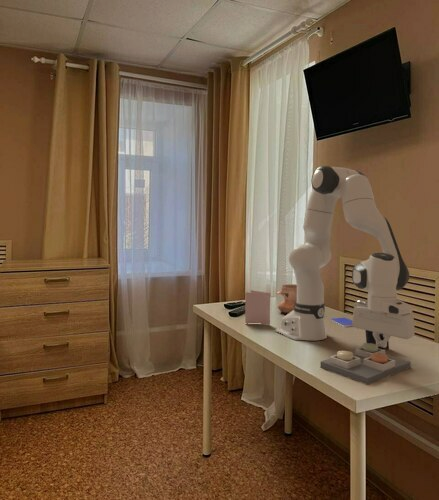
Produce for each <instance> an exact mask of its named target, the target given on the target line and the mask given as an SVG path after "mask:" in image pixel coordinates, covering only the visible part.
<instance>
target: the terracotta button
mask: <svg viewBox="0 0 439 500" xmlns="http://www.w3.org/2000/svg"><path fill="white" fill-rule="evenodd" d="M387 355H388V354H386V353H385V354H382V353H372V354H371V361H373V362H376V363H380V364H384V363H387V362H388V356H387Z"/></svg>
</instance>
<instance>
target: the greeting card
mask: <svg viewBox="0 0 439 500" xmlns="http://www.w3.org/2000/svg"><path fill="white" fill-rule="evenodd" d="M244 293H245V299H244V301H245V308H244V312H245V314H244V316H245V317H244V318H245V320H244V322H245V323H261V324H270V325H271V293H270V292H264V291H258V290H250V292H244ZM245 323H244V324H245Z"/></svg>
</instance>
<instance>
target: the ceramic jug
mask: <svg viewBox="0 0 439 500" xmlns="http://www.w3.org/2000/svg"><path fill="white" fill-rule="evenodd" d="M280 288H281V291H277V292H276V294H277V295H281V296H283V300H282V301H281V302H279V303H278V305H277V309H279V311H280V312H282V313H283V314H286V313H287V314H289V313H290V312H291V311H293V309H294V306H292V305H294V304H292V303H296V302H297V284H296V283H295V284H294V283H293V284H292V283H289V284H282V285H280ZM287 314H286V315H287Z"/></svg>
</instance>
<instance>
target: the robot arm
mask: <svg viewBox="0 0 439 500" xmlns="http://www.w3.org/2000/svg"><path fill="white" fill-rule="evenodd" d="M310 181H311V187H312V189H311V192H310V195H309V198H308V201H307V204H306V205H307V206H306V210H305V215H304V221H303V226H302V228H303V230H304V244H299V245H297V246H296V247H294V248H293V249H292V250H291V251H290V253H289V256H288V262H289V264H290V266H291V268H292V269H293V272H294V276H295V280H296V283H295V284H296V285H297V302H296V303H292V304H294V305H292V306H294V309H293V311H291V312H290V313H289V314H286V315H284V316H283V317H282V319H281V323H280V326H277V327H276V328H275V332H276V333H278V332H279V334H280V333H281V334H280V335H282V334H283V336H285V337H287V338H289V339H292V340H295V341H321V340H322V341H323V340H325V339H327V338H328V335H327V331H326V325H325V316H324V315H325V311H326V309H325V307H326V306H325V304H326V303H324V302H325V299H324V298H325V285H324V283H323V281H322V278H321V273H320V272H321V271H320V269H322V268H324V267H325V266H327V265H328V263H330V261H331V259H332V251H331V230H332V225H333V219H334V214H335V210H336V204H337V202H338V200H339V199H341V203H342V212H343V215H344V219H345V222H346V223H347V224H348V225H349V226H351V228H353V229H356V230H358V231H361V232H364V233H367V234H369V235H371V236H373V237H374V238H376V239H377V241H378V242H379V245H380V247H381V250H382V252H375V253H371V254H370V255H369V256H368V257H369V258H368V259H366V260H363V261H359V262H357V263H356V264H355V265H354V266H353V268H352V272H351V278H352V283H353V285H355V286H356V288H358V289H361V290H366V291H367V290H368V292H367V300H364V301H363V300H361V299H359V300H356V301H355V302H354V303H353V313H352V319H351V320H352V324H353V326H352V327H353V328H356V329H361V330H368V331H372V332H373V336H374V338H375V340H376V346H380V347H382V348H384V349H386V348H385V347H387V342H389V340H390V339H391V337H394V338H400V339H404V340H410V339H412V338H413V337H414V336H415V318H414V316H413V315H412V313H413V312H414V310H413V306H412V305H410V304H408V303H406V302H404V301H403V300H401V299H399V298H398V293H397V291H401V290H402V289H403V288H405V287H406V285H407V284H408V282H409V280H410V272H409V268H408V267H407V265H406V262H405V261H404V259H403V257H402V254H401V252H400V251H401V250H400V249H399V246H398V243H397V242H398V241H397V240H396V237H395V235H394V232H393V229H392V227H391V224H390V222H389V220H388V219H387V218H386V217H384V216H383V215H382V214H381V211H379V209H378V207H377V204H376V200H375V196H374V193H373V189H372V185H371V183H370V180H369V178H368V177H367V176H366V175H365V174H364V173H363V172H361V171H358V170H353V169H351V168H347V167H340V166H339V167H337V166H330V165H323V166H319V167H316V169H315V170H314V172H313V173H312V176H311V180H310ZM380 333H381V334H383V337H385V338H384V340H381V339H380V337H379V334H380Z"/></svg>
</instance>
